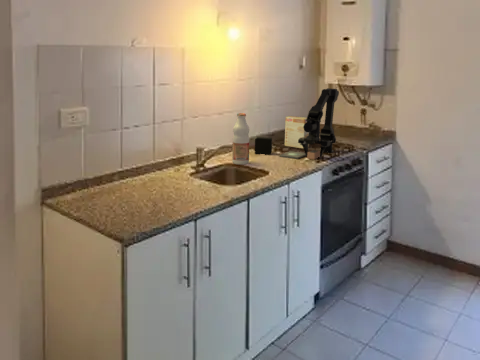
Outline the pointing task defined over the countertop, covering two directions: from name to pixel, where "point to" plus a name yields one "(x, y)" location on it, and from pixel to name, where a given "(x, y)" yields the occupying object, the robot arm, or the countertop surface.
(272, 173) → the countertop surface
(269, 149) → the electronic device
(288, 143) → the coffeecake box
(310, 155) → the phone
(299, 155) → the pad
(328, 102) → the robot arm
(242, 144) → the fruit juice
